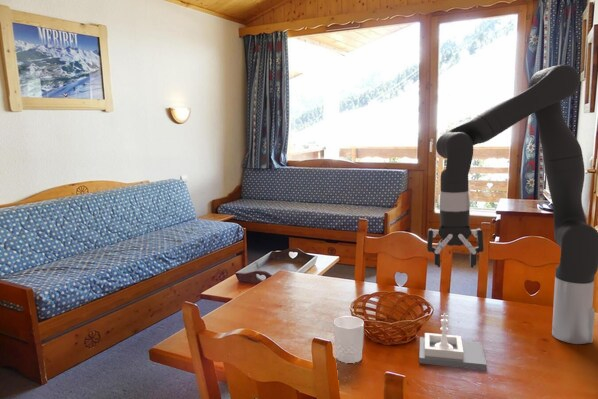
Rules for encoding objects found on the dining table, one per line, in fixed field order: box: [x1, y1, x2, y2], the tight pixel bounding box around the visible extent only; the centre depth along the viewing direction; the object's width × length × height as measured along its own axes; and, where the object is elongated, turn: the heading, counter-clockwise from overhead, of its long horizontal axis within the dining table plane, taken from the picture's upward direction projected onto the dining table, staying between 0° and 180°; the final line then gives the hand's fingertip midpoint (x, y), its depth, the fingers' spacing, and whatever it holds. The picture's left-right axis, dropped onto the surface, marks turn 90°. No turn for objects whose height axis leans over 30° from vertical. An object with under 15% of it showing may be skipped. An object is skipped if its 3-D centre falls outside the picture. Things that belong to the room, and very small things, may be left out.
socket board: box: [418, 332, 487, 371], centre depth 120 cm, size 16×12×4 cm
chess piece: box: [434, 312, 453, 349], centre depth 120 cm, size 5×5×10 cm
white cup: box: [333, 315, 365, 364], centre depth 120 cm, size 8×8×10 cm
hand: (454, 266), depth 123 cm, fingers open, 8 cm apart
